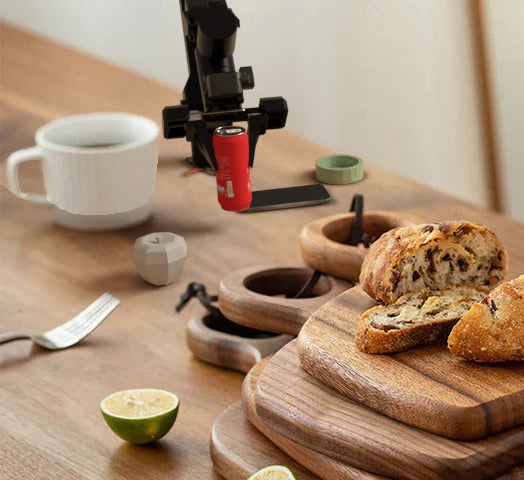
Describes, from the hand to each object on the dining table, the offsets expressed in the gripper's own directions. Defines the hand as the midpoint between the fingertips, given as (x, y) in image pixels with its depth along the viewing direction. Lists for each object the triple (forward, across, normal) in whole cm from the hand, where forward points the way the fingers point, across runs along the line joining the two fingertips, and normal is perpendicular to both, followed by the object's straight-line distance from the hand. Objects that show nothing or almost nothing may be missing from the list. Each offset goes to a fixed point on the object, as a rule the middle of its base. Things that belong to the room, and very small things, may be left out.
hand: (233, 168), depth 161 cm
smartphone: (0, +9, +15) cm, 17 cm away
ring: (-6, +21, +21) cm, 30 cm away
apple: (+18, -13, -3) cm, 22 cm away
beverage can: (+4, 0, +6) cm, 7 cm away
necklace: (-13, +1, +28) cm, 31 cm away
